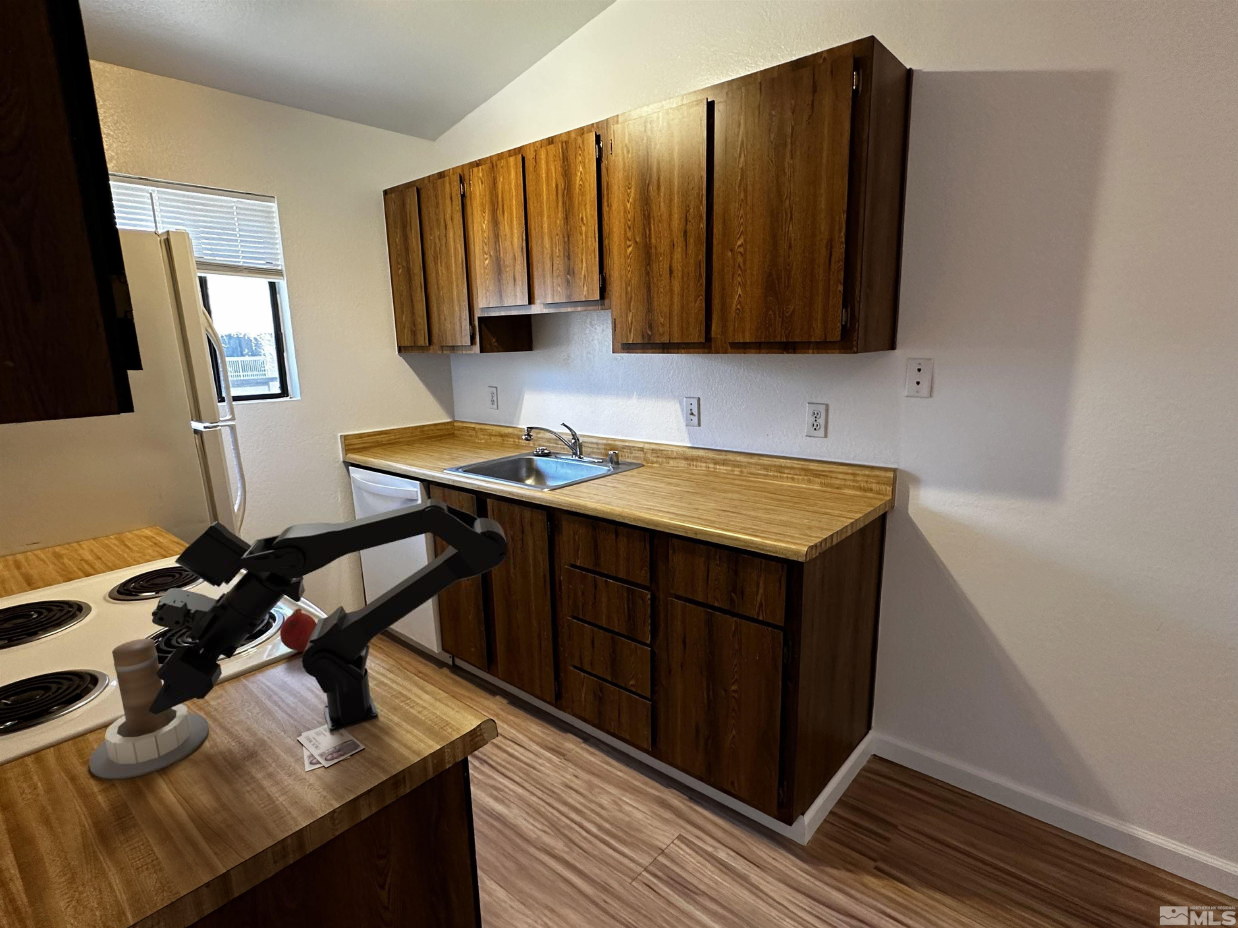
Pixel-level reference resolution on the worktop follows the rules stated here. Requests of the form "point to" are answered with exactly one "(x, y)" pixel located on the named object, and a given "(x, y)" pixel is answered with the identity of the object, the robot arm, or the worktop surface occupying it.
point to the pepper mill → (139, 685)
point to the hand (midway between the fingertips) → (166, 692)
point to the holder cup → (148, 746)
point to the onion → (297, 630)
